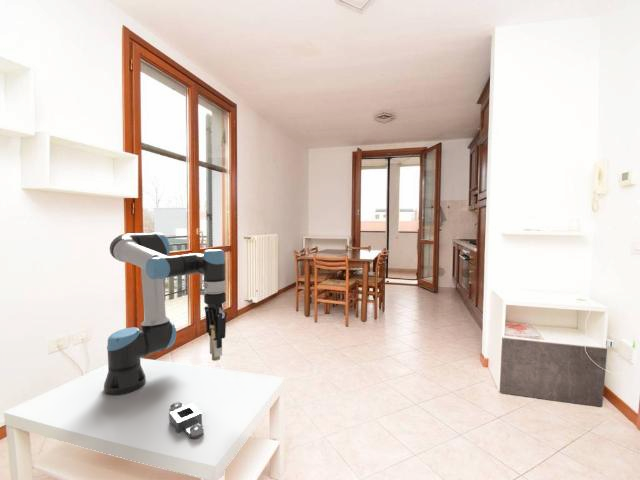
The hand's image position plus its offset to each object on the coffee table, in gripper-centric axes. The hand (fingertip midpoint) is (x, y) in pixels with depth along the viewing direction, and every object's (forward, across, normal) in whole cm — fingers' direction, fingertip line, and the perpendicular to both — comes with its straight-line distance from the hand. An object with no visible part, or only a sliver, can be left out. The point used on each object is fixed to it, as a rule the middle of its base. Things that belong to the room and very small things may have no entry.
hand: (215, 354), depth 119 cm
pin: (+2, 0, 0) cm, 2 cm away
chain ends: (+20, +1, -12) cm, 24 cm away
